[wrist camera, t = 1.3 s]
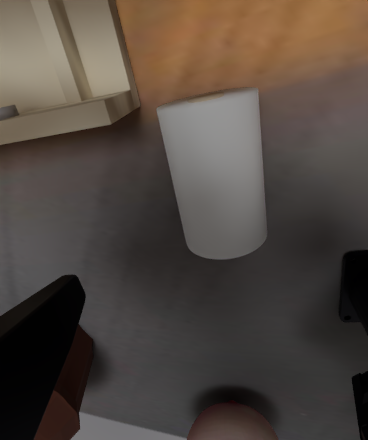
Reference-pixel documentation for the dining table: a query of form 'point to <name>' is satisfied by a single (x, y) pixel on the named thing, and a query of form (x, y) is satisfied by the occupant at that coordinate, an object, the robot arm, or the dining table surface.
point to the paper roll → (217, 170)
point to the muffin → (68, 392)
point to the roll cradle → (62, 68)
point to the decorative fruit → (231, 424)
